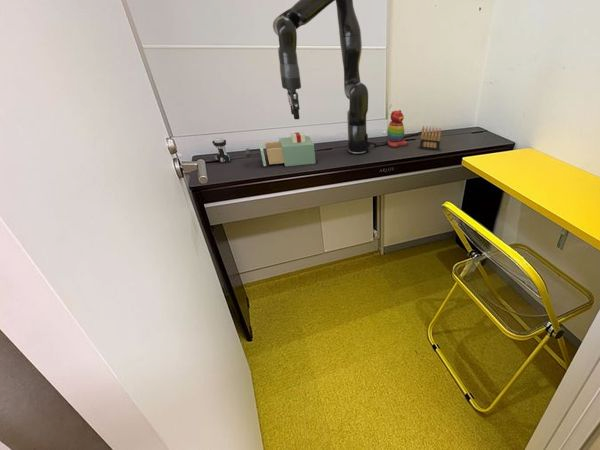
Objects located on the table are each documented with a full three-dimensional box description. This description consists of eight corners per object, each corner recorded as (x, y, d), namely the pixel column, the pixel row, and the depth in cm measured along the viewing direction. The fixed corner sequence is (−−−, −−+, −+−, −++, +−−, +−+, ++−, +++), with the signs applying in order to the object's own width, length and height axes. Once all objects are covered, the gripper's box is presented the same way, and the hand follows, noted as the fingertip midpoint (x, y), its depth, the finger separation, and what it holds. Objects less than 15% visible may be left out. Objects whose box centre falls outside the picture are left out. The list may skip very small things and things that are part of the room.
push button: (212, 162, 138) (205, 140, 133) (219, 157, 143) (214, 136, 137) (226, 163, 138) (220, 141, 132) (233, 159, 142) (228, 137, 137)
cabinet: (285, 166, 139) (282, 146, 134) (282, 156, 148) (279, 138, 143) (315, 163, 144) (313, 144, 139) (311, 154, 153) (309, 135, 148)
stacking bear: (392, 148, 167) (394, 114, 157) (382, 142, 174) (383, 109, 164) (408, 145, 173) (411, 112, 163) (398, 139, 179) (400, 107, 169)
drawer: (248, 167, 133) (245, 151, 129) (247, 158, 142) (244, 143, 138) (293, 163, 140) (291, 147, 136) (289, 154, 148) (287, 139, 144)
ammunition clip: (439, 149, 170) (442, 127, 163) (439, 150, 168) (442, 128, 162) (419, 147, 171) (421, 125, 164) (419, 148, 169) (421, 126, 163)
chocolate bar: (304, 139, 144) (303, 132, 142) (305, 142, 141) (304, 135, 139) (291, 139, 142) (290, 132, 140) (292, 143, 139) (291, 135, 137)
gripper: (302, 78, 122) (307, 120, 131) (297, 72, 133) (301, 112, 142) (282, 78, 120) (288, 121, 129) (278, 72, 130) (284, 112, 139)
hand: (295, 116), depth 135 cm, fingers open, 7 cm apart
